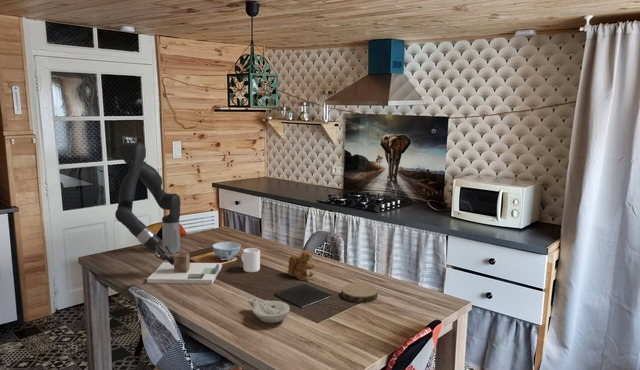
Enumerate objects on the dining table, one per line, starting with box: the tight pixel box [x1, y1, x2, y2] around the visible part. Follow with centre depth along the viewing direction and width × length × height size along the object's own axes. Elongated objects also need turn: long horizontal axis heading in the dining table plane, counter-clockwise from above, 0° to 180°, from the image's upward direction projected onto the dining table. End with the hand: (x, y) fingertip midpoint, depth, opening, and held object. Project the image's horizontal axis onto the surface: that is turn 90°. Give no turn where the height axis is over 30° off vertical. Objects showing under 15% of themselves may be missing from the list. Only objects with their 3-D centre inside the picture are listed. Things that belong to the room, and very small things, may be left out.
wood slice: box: [341, 282, 379, 304], centre depth 212 cm, size 16×16×3 cm
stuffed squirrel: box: [287, 249, 316, 282], centre depth 234 cm, size 10×14×13 cm
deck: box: [146, 261, 223, 285], centre depth 234 cm, size 30×25×4 cm
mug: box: [240, 247, 261, 273], centre depth 244 cm, size 12×8×10 cm
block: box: [173, 252, 191, 273], centre depth 233 cm, size 6×6×8 cm
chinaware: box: [212, 241, 242, 261], centre depth 259 cm, size 15×15×8 cm
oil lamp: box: [248, 297, 290, 324], centre depth 187 cm, size 21×14×5 cm
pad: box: [201, 268, 220, 279], centre depth 234 cm, size 7×9×2 cm
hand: (174, 263), depth 233 cm, fingers closed
